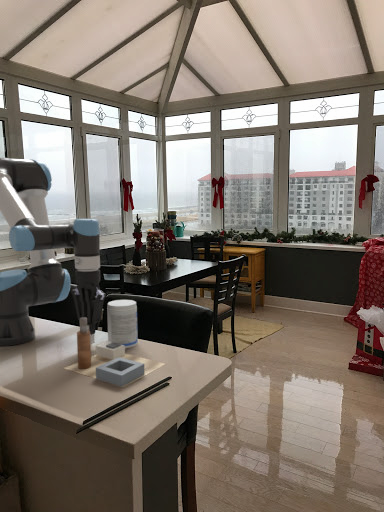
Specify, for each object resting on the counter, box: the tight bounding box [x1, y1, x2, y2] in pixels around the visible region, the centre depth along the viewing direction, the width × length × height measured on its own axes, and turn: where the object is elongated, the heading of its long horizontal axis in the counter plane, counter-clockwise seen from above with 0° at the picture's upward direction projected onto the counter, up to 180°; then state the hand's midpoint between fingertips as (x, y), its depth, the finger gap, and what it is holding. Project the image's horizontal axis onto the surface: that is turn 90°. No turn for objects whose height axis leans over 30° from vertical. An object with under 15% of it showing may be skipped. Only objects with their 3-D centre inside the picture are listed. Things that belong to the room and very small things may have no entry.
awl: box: [76, 317, 92, 369], centre depth 115 cm, size 4×4×14 cm
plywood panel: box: [63, 352, 166, 388], centre depth 116 cm, size 22×18×1 cm
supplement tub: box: [106, 299, 139, 349], centre depth 134 cm, size 10×10×15 cm
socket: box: [95, 357, 144, 388], centre depth 109 cm, size 9×9×3 cm
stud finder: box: [95, 340, 126, 360], centre depth 124 cm, size 7×5×4 cm
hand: (89, 343), depth 129 cm, fingers closed
